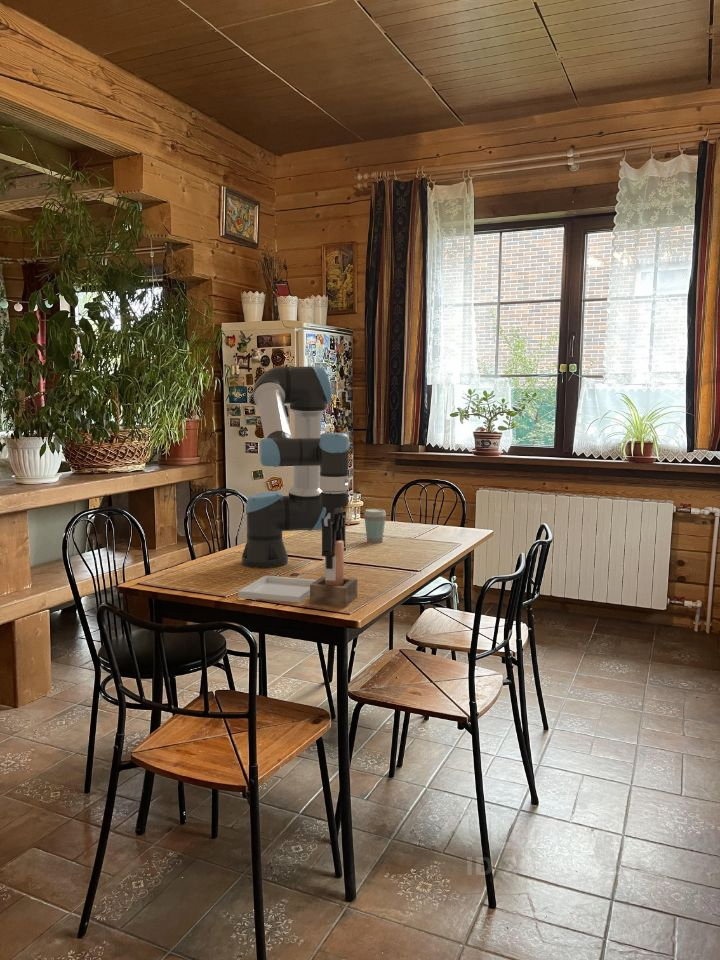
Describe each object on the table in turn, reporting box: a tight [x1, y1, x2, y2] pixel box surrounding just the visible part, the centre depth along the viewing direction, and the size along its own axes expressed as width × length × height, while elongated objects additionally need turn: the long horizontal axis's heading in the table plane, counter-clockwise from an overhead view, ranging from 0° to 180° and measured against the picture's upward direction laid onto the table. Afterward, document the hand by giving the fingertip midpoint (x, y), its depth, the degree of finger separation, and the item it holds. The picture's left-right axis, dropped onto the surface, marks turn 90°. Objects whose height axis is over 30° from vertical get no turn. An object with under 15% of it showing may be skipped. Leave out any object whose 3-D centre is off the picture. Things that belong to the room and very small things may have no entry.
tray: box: [237, 575, 317, 603], centre depth 207 cm, size 18×18×2 cm
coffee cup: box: [363, 508, 387, 544], centre depth 279 cm, size 9×9×12 cm
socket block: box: [309, 575, 358, 608], centre depth 198 cm, size 10×10×6 cm
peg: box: [325, 540, 345, 586], centre depth 198 cm, size 5×5×16 cm
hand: (333, 577), depth 198 cm, fingers closed on peg, 5 cm apart
